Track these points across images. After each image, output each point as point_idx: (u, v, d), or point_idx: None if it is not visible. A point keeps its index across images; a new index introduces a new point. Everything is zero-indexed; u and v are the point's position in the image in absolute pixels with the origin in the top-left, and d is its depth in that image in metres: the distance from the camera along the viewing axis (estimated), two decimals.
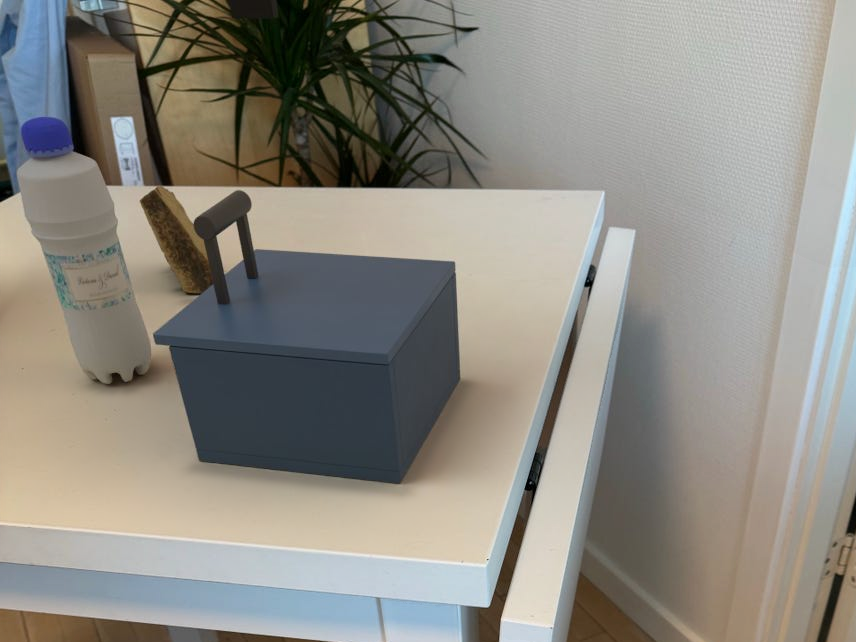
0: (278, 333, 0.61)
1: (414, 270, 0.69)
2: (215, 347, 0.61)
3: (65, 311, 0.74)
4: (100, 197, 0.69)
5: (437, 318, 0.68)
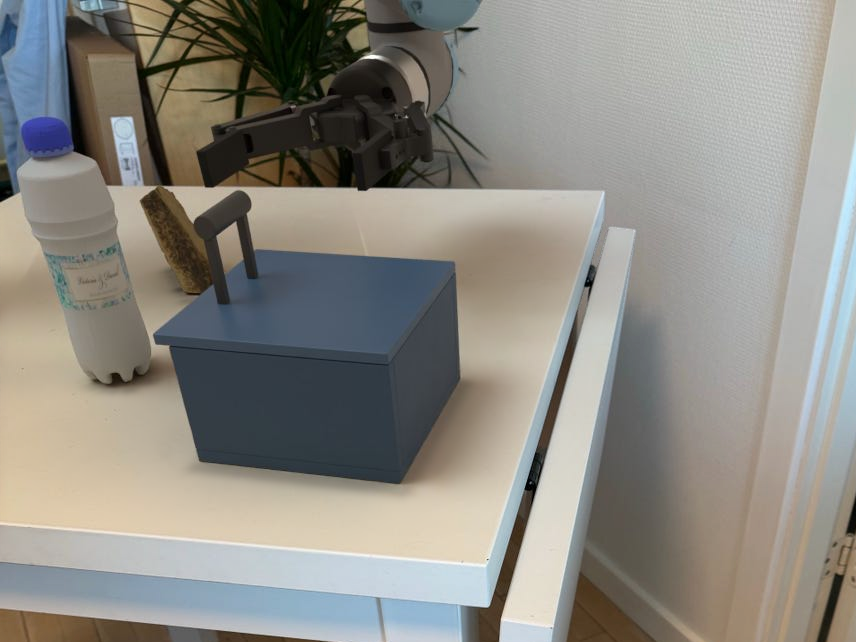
0: (278, 333, 0.61)
1: (414, 270, 0.69)
2: (215, 347, 0.61)
3: (65, 311, 0.74)
4: (100, 197, 0.69)
5: (437, 318, 0.68)
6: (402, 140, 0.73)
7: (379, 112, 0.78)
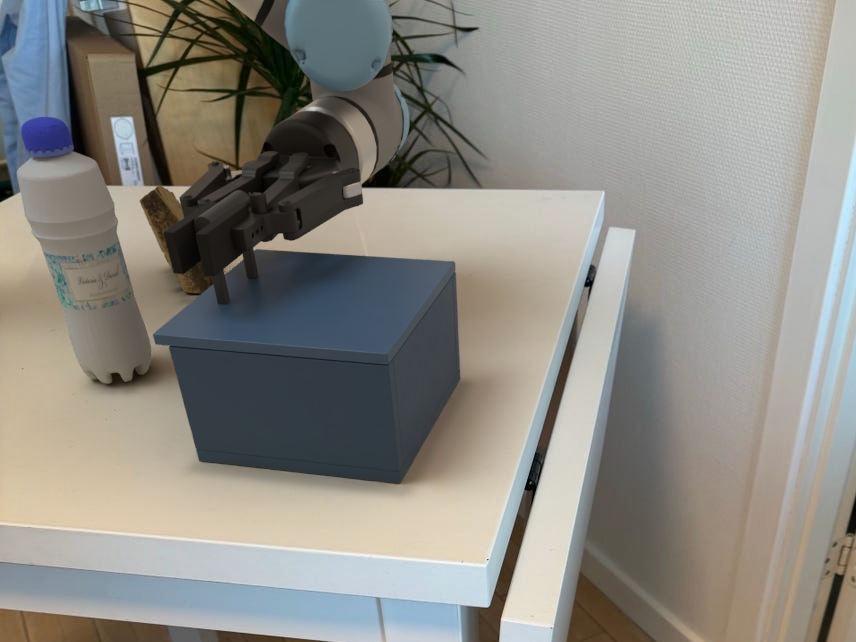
0: (278, 333, 0.61)
1: (414, 270, 0.69)
2: (215, 347, 0.61)
3: (65, 311, 0.74)
4: (100, 197, 0.69)
5: (437, 318, 0.68)
6: (260, 216, 0.64)
7: (290, 177, 0.69)
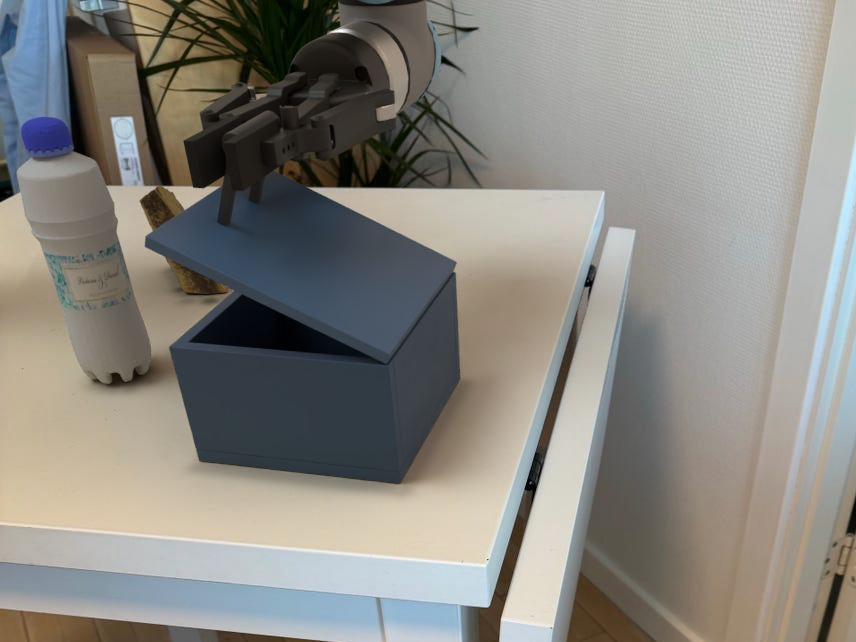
0: (281, 287, 0.59)
1: (418, 257, 0.69)
2: (210, 276, 0.58)
3: (65, 311, 0.74)
4: (100, 197, 0.69)
5: (437, 318, 0.68)
6: (292, 131, 0.60)
7: (321, 96, 0.64)
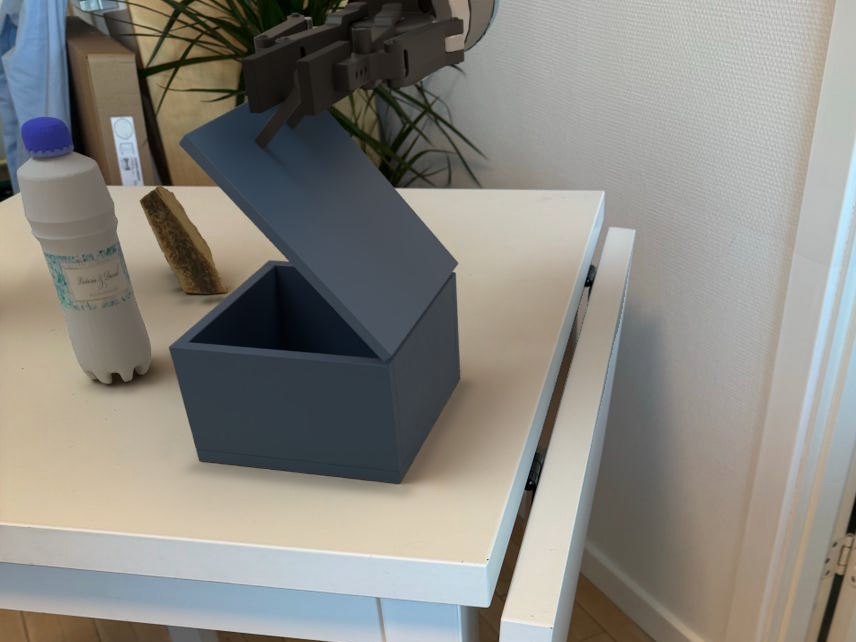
0: (306, 244, 0.57)
1: (427, 247, 0.68)
2: (239, 206, 0.54)
3: (65, 311, 0.74)
4: (100, 197, 0.69)
5: (437, 318, 0.68)
6: (364, 55, 0.56)
7: (387, 24, 0.60)
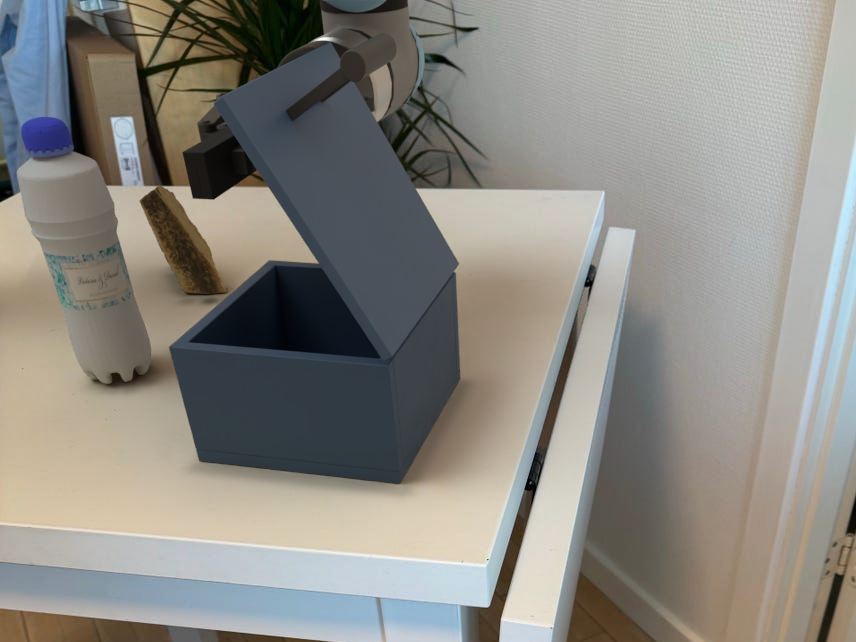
0: (325, 229, 0.56)
1: (433, 244, 0.68)
2: (265, 179, 0.53)
3: (65, 311, 0.74)
4: (100, 197, 0.69)
5: (437, 318, 0.68)
6: None
7: None
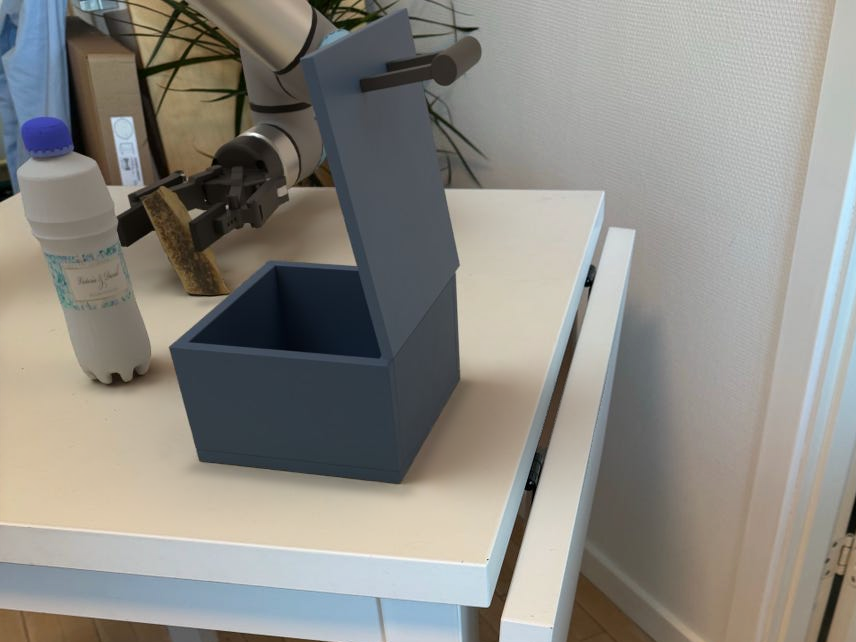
0: (366, 216, 0.55)
1: (444, 242, 0.67)
2: (327, 151, 0.51)
3: (65, 311, 0.74)
4: (100, 197, 0.69)
5: (437, 318, 0.68)
6: (234, 211, 0.92)
7: (239, 183, 0.97)
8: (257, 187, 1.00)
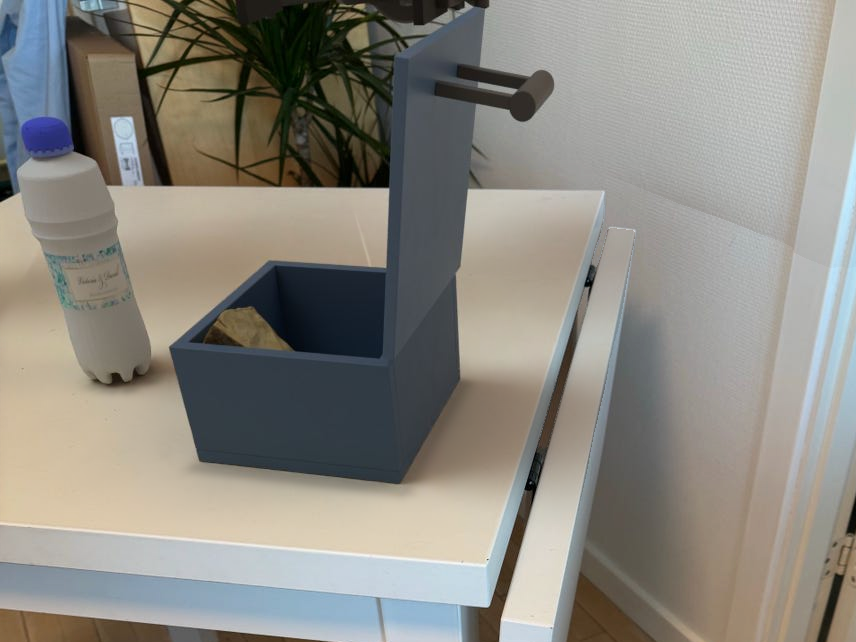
0: (408, 220, 0.54)
1: (455, 244, 0.67)
2: (393, 151, 0.50)
3: (65, 311, 0.74)
4: (100, 197, 0.69)
5: (437, 318, 0.68)
6: None
7: None
8: None
